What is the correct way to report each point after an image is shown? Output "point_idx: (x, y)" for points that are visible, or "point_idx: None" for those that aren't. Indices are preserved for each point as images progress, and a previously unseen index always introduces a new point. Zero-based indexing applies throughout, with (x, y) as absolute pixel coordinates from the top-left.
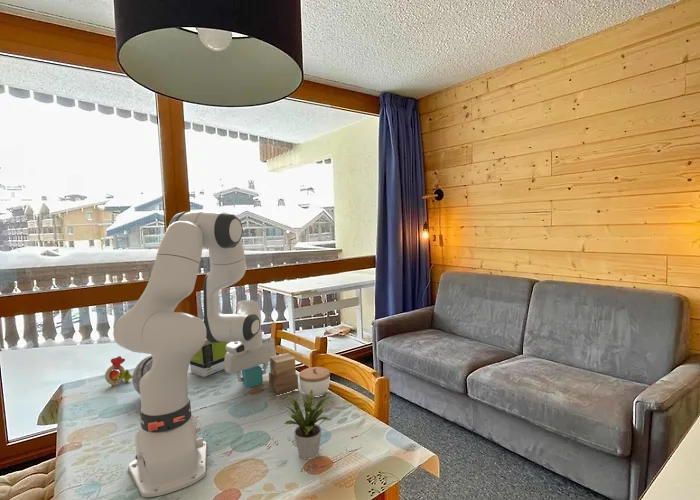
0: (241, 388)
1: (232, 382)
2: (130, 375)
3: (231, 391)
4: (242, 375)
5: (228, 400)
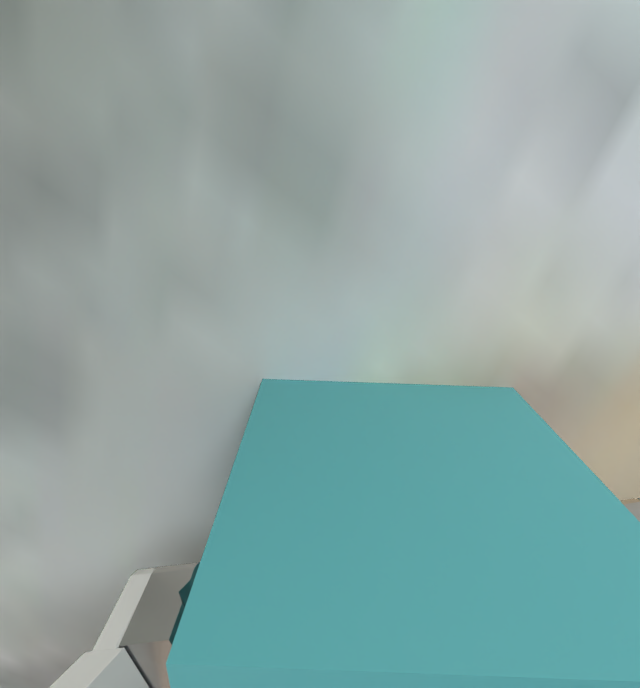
0: (203, 538)
1: (107, 287)
2: None
3: (79, 545)
4: (237, 467)
5: (46, 677)
